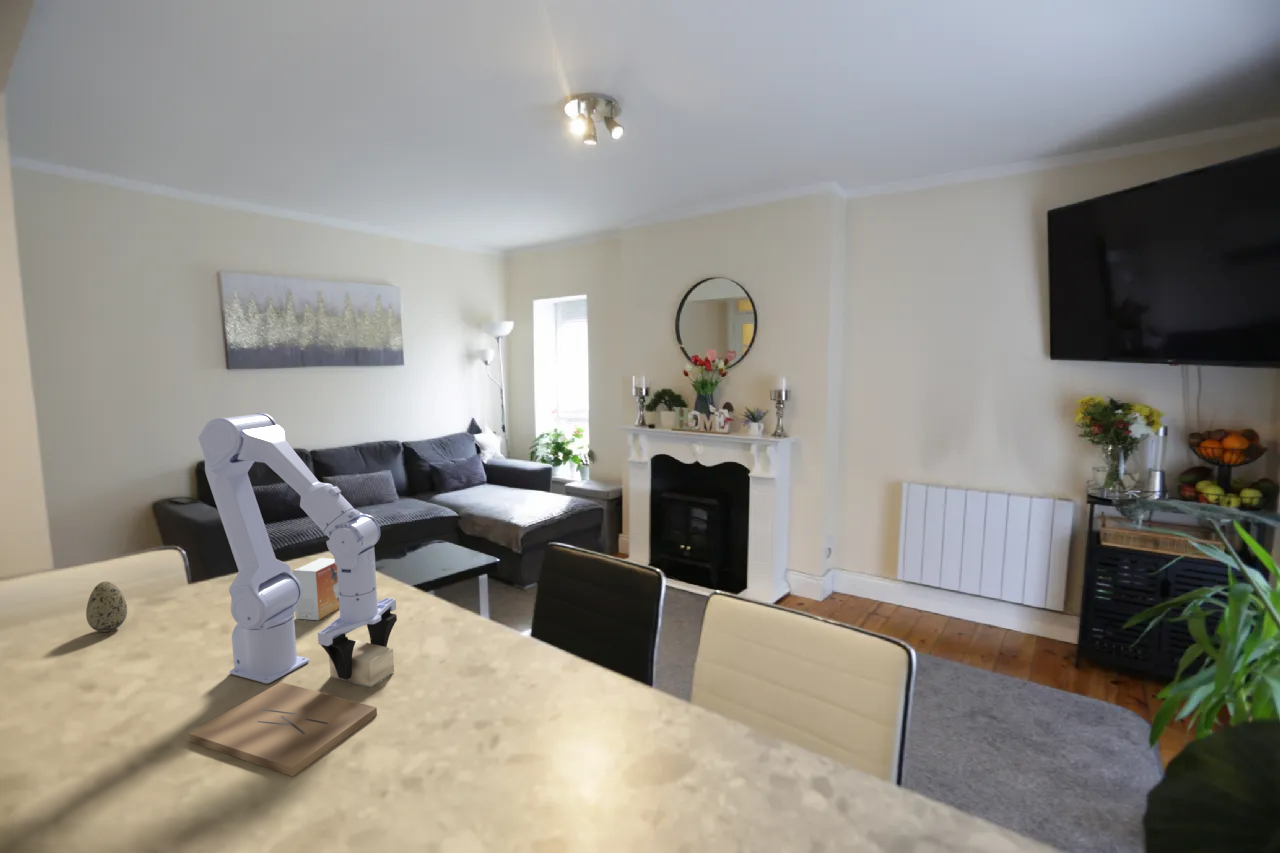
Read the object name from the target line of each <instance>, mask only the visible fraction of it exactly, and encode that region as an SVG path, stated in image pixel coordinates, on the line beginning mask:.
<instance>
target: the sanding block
mask: <svg viewBox="0 0 1280 853" xmlns="http://www.w3.org/2000/svg"><path fill="white" fill-rule="evenodd" d="M352 640H353V641H356V642H355V645H354V649H353V654H352V675H351V678H350V679H348V680H347V679H343V678H339V677H338V674H337V671H336V668H335V666H334V664H333V662H332V660H331V658H330V656H329V655H328V658H329V660H328V661H329V672H330V674H329V675H330V678H333V677H334V678H333V679H337V678H338V679H337V680H340V679H341V681H344V682H348V683H351V682H352V684H356V685H358V686H362V687H367V688H370V689H372V688H373V687H374V685H375V684H376V685H378V684H380V681H381V680H382V681H384V680H385V679H387V678H388V677H390V676H391V675H393V674H394V673H395V665H394V664H395V663H394V649H393V648H392V647H388V646H387V647H383V646H379V645H375V644H371V642H365V641H361V640H358V639H357V640H356V639H352ZM393 672H394V673H393ZM392 673H393V674H392ZM390 674H391V675H390ZM389 675H390V676H389ZM387 676H388V677H387ZM386 677H387V678H386ZM384 678H385V679H384ZM383 679H384V680H383ZM382 681H381V682H382ZM377 683H378V684H377ZM376 685H375V686H376Z"/></svg>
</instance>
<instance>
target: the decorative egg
mask: <svg viewBox="0 0 1280 853" xmlns="http://www.w3.org/2000/svg"><path fill="white" fill-rule="evenodd" d="M89 595H90V596H89V598H88V600H87V604H86V609H85V610H86V611H85V613H86V614H85V615H86V621H87V623H88V624H87V625H89V627H90V628H91V629H93V631H97V632H99V633H100V632H101V633H108V632H111V631H114V630H116V629H118V628H119V627H121V625H122V624H124V622H125V620H126V618H127V615H128V604H127V602H126V599H125V596H124V594H123V593H122V591H121V590H120V588H119V587H118V586H117V585H116V584H114V583H113V582H111V581H102V582H100V583H98V584H97V585H96V586H95V587H94V588H93V589H92V591H91V593H90V594H89Z"/></svg>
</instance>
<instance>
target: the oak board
mask: <svg viewBox="0 0 1280 853" xmlns="http://www.w3.org/2000/svg"><path fill="white" fill-rule="evenodd" d="M377 710H378V709H377V706H372V705H370V704H365V703H361V702H357V701H354V700H350V699H347V698H343V697H338V696H336V695H335V696H334V695H331V694H327V693H323V692H319V691H316V690H312V689H309V688H305V687H301V686H298V685H294V684H290V683H287V682H283V681H279V682H278V683H276V684H274V685H273V686H270V687H269V688H267V689H265V690H264V691H262V692H260V693H258V694H256V695H254V696H252V697H250V698H249V699H247V700H246V701H244V702H242V703H240V704H239V705H236V706H235V707H233V708H231V709H228V710H227V711H225V712H224V713H222V714H221V715H219V716H217V717H215V718H213V719H211V720H209V721H207V722H206V723H204V724H202V725H201V726H198V727H197V728H196V729H193V730H192V731H190V732H188V741H189V742H191V743H193V744H196V745H200V746H202V747H204V748H208V749H210V750H215V751H217V752H220V753H223V754H226V755H229V756H231V757H234V758H238V759H241V760H244V761H246V762H248V763H249V762H250V763H252V764H256V765H258V766H260V767H264V768H266V769H270V770H273V771H276V772H279V773H282V774H284V775H288V776H291V777H294V776H296V775H297V774H299V773H300V772H301V771H302V770H304V769H306V767H308V766H310V765H311V764H312V763H313V762H315V761H316V760H318V759H319V758H320V757H322V756H323V755H325V754H326V753H327V752H328V751H330V750H331V749H333V748H335V746H336V745H338V744H339V743H341V742H342V741H344V740H345V739H346V738H348V737H349V736H350V735H351V734H353V733H354V732H356V731H357V730H358V729H360V728H361V727H362V726H364V725H366V723H368V722H370V721H371V720H372V719H373V718H375V717H376V716H378V711H377Z"/></svg>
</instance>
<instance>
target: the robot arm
mask: <svg viewBox="0 0 1280 853" xmlns="http://www.w3.org/2000/svg"><path fill="white" fill-rule="evenodd" d="M285 433H286V432H285V429H284V428H283V427H282V426H281V425H279V424H278V423H277V421H276V420H275V419H274V417H272V416H271V415H270V414H268V413H264V412H258V413H253V414H246V415H239V416H231V417H215V418H213V419H211V420H209V421H208V422H207V423H206V425H205V426H204V427H203V429H202V431H201V433H199V435H198V437H197V438H198V442H199V444H200V447H201V450H202V453H203V455H204V471H205V475H206V478H207V482H208V484H209V487H210V490H211V494H212V496H213V500H214V502H215V505H216V508H217V511H218V514H219V517H220V521H221V523H222V525H223V529H224V531H225V534H226V538H227V540H228V544H229V546H230V550H231V552H232V555H233V558H234V561H235V563H236V567H237V570H238V572H237V574H236V576H235V578H234V579H233V580H232V583H231V584H230V586H229V588H228V592H229V594H230V598H231V603H230V613H231V616H232V618H233V620H234V621H235V622H236V625H235V626H234V628H233V630H232V633H231V645H232V656H233V667H234V668H232V669H230V670H229V674H230V675H233V676H237V677H239V678H240V677H241V678H245V679H248V680H252V681H256V682H259V683H262V684H271V683H272V682H274V681H276V680H278V679H280V678H281V677H283V676H285V675H287V674H289V673H291V672H293V671H295V670H296V669H298V668H300V667H302V666H304V665H305V664H307V663H309V662H310V658H308V657H304V656H301V655H297V654H298V653H297V642H296V629H295V628H296V627H295V625H296V624H295V616H294V615H295V611H296V604H297V603H298V602H299V601H300V599H301V597H302V586H301V584H300V582H299V580H298V579H297V578H296V577H295V576H294V575H293V570H292V568H291V566H290V564H288V563H286V562H284V561H282V560H280V559H277V558H276V554H275V552H274V549H273V546H272V543H271V540H270V537H269V534H268V531H267V528H266V525H265V523H264V522H265V521H264V519H263V517H262V513H261V510H260V507H259V504H258V501H257V499H256V498H257V497H256V494H255V493H254V489H253V486H252V484H251V483H252V482H251V481H250V480H251V479H250V476H249V474H248V472H249V471H250V469H251V467H252V466H253V464H254V463H255V462H256V463H264V464H265V465H266V466H268V468H270V469H271V470H272V471H273V472H274V473H276V474H277V475H278V476H279V477H280V479H282V480H283V481H284V482H285V483H286V484H287V485H289V486H290V488H292V489H293V490H294V491H295V492H296V493H297V494H298V495H299V496H300V500H299V501H300V502H299V507H300V508H301V509H302V510H303V511H304V512H305V514H306V515H307V516H308V517H309V518H310V519H311V520H312V521H313V522H314V523H315V524H316V525H317V526H318V527H319V529H320V530H321V531H322V532H323V533H324V534H325V535H326V536H327V537H328V538H329V539H328V540H326V542H325V543H326V546H327V548H328V551H329V552H330V553H331V555H332V556H333V559H335V565H337V575H338V591H339V607H340V608H339V616H338V617H336V619H334V621H332V622H331V623H330V624H329V625H327V626H326V627H325V628H323V629H322V630H319V631H318V632H317V641H318V645H320V646H321V647H322V648H323V649H324V651H325V652H326V654H327V655H328V657H329V656H330V658H331V660H332V662H333V664H334V666H335V668H336V671H337V674H338V677H339V678H343V679H347V680H348V679H350V678H351V675H352V654H353V649H354V645H355V642H356V641H353V639H349V637H348V636H347V635H348V634H349V633H350V632H353V631H354V630H356V629H359V628H362V627H363V626H366V628H367V631H368V634H369V640H370V642H369V643H371V644H375V645H379V646H383V647H388V642H389V639H390V634H391V633H392V630H393V629H394V626H395V624H396V622H397V621H398V616H397V614H396V613H391V612H395V611H396V610H397V600H396V598H390V597H386V598H384V599H380V600H378V591H377V574H376V573H377V572H376V555H375V554H376V553H375V552H376V551H375V545H376V544H377V543H378V541H379V540H380V537H381V527H380V525H379V523H378V522H377V520H376V519H375V517H374V516H372V515H370V514H366V513H363V512H361V511H360V510H358V509H355V508H354V506H352V504H351V503H350V502H349V501H348V500H347V499H346V498H345V497H344V495H342V490H341V489H340V488H339V487H338V486H334V485H333V484H332V483H328V482H321V481H319V480H318V478H317V477H316V476H315V475H314V473H313V472H312V471H311V470H310V468H309V467H308V466H307V465H306V464H305V462H304V461H303V460H302V458H301V456H299V455H298V454H297V453H296V451H295V450H294V448H293V447H292V446H291V445H290V444H289V442H288V441H287V440H286V434H285Z"/></svg>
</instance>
